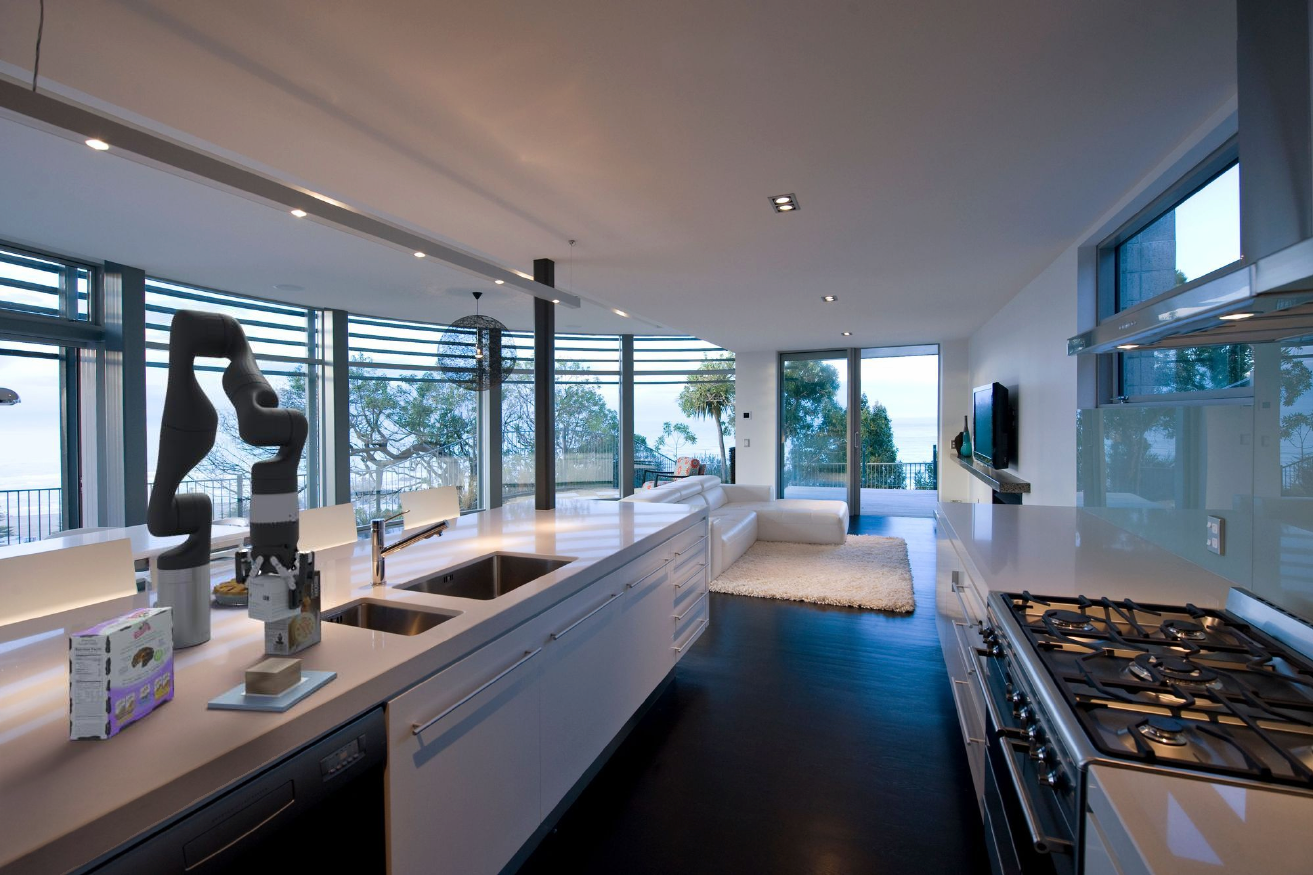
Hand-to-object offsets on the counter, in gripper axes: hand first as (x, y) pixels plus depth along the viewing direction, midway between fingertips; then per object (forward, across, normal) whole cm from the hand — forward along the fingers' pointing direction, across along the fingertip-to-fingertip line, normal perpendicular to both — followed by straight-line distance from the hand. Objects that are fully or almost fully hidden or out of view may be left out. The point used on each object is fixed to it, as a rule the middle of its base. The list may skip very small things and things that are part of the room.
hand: (275, 607), depth 105 cm
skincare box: (+2, 0, 0) cm, 2 cm away
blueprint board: (+15, 0, 0) cm, 15 cm away
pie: (+16, -49, +55) cm, 75 cm away
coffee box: (+16, -12, +20) cm, 28 cm away
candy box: (+16, -17, -12) cm, 26 cm away
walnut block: (+14, 0, 0) cm, 14 cm away
